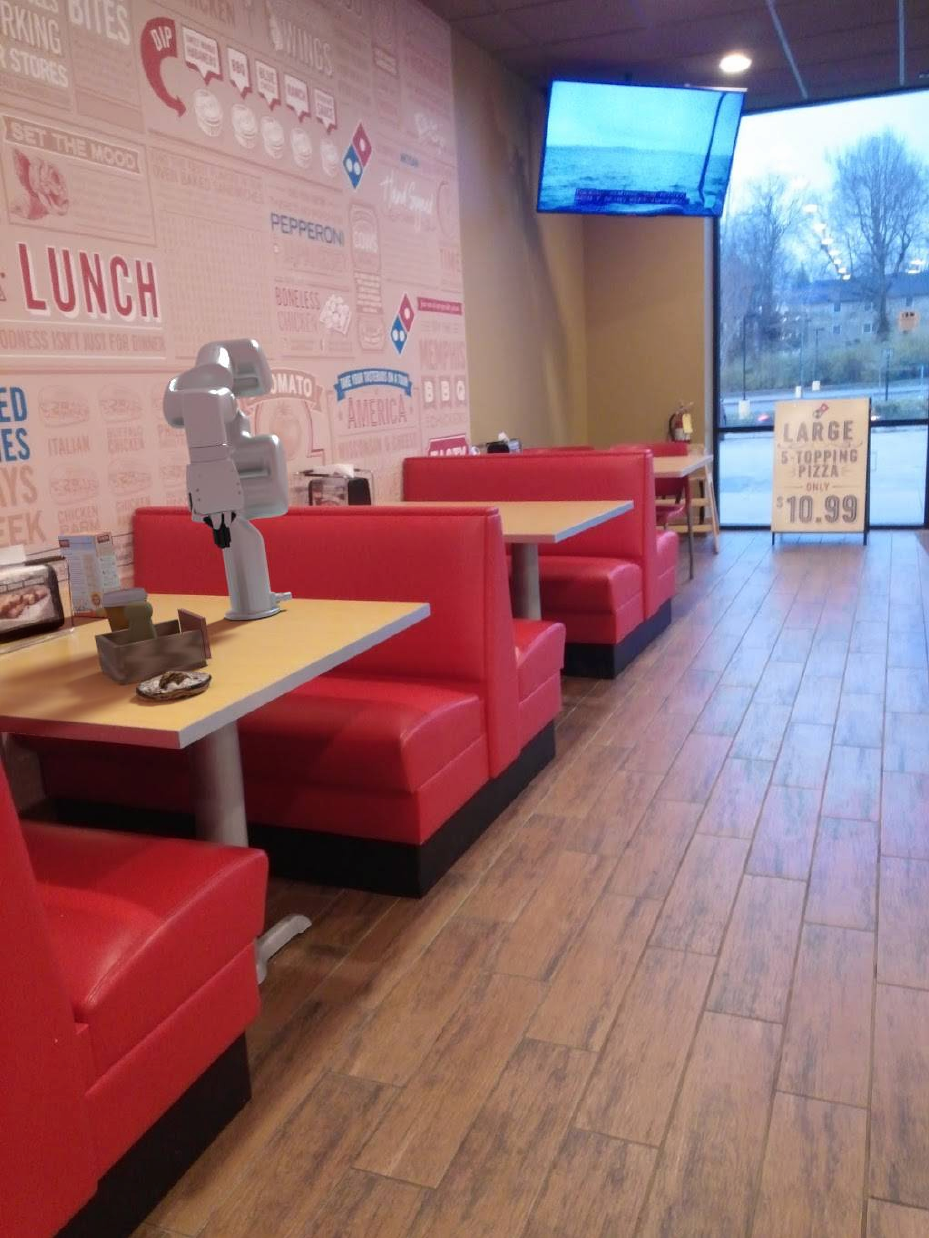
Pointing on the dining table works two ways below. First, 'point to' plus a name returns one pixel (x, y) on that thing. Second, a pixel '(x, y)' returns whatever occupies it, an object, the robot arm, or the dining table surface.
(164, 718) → the dining table surface
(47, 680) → the dining table surface
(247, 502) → the robot arm
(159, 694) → the pie
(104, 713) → the dining table surface
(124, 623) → the disposable coffee cup
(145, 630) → the olive green pawn
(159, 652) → the caddy
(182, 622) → the drawer
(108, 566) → the cracker box
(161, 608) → the dining table surface
